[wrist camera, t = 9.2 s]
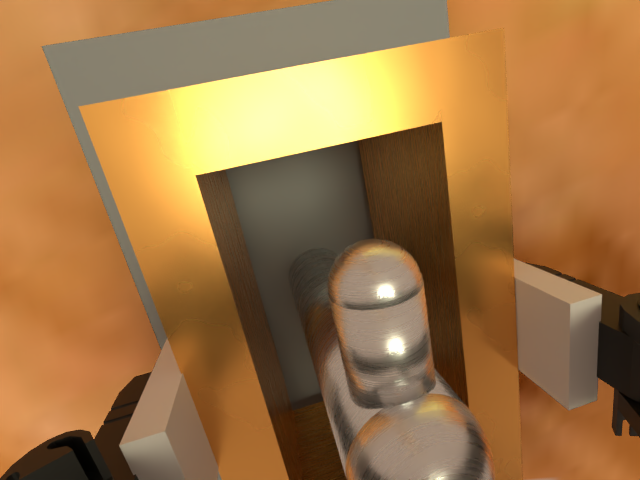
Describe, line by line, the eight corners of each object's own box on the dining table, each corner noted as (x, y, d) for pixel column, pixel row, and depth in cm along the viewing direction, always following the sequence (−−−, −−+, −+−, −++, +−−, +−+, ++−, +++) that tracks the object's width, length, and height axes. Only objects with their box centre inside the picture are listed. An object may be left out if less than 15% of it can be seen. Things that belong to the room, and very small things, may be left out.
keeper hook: (350, 294, 15) (536, 559, 5) (296, 309, 15) (384, 623, 5) (328, 181, 14) (527, 257, 4) (267, 196, 13) (314, 319, 3)
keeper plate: (468, 397, 19) (479, 410, 18) (222, 481, 17) (220, 500, 16) (431, -6, 13) (445, -18, 13) (59, 54, 12) (41, 46, 11)
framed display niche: (430, 393, 16) (524, 524, 11) (268, 446, 15) (276, 621, 10) (389, 84, 12) (503, 27, 7) (166, 129, 11) (78, 106, 6)
